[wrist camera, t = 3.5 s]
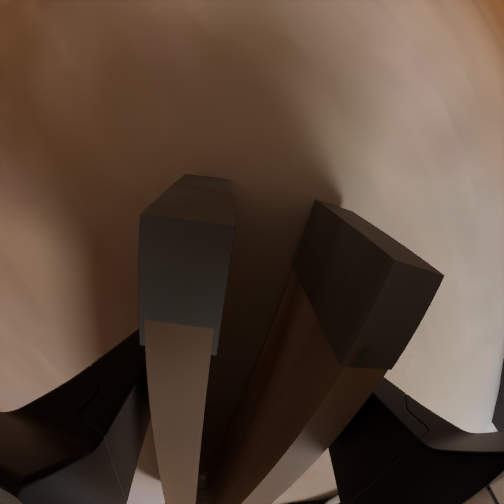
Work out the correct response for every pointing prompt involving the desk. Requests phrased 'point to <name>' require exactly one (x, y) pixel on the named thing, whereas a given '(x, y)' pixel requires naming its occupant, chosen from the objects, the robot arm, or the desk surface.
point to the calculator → (500, 407)
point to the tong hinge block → (201, 490)
